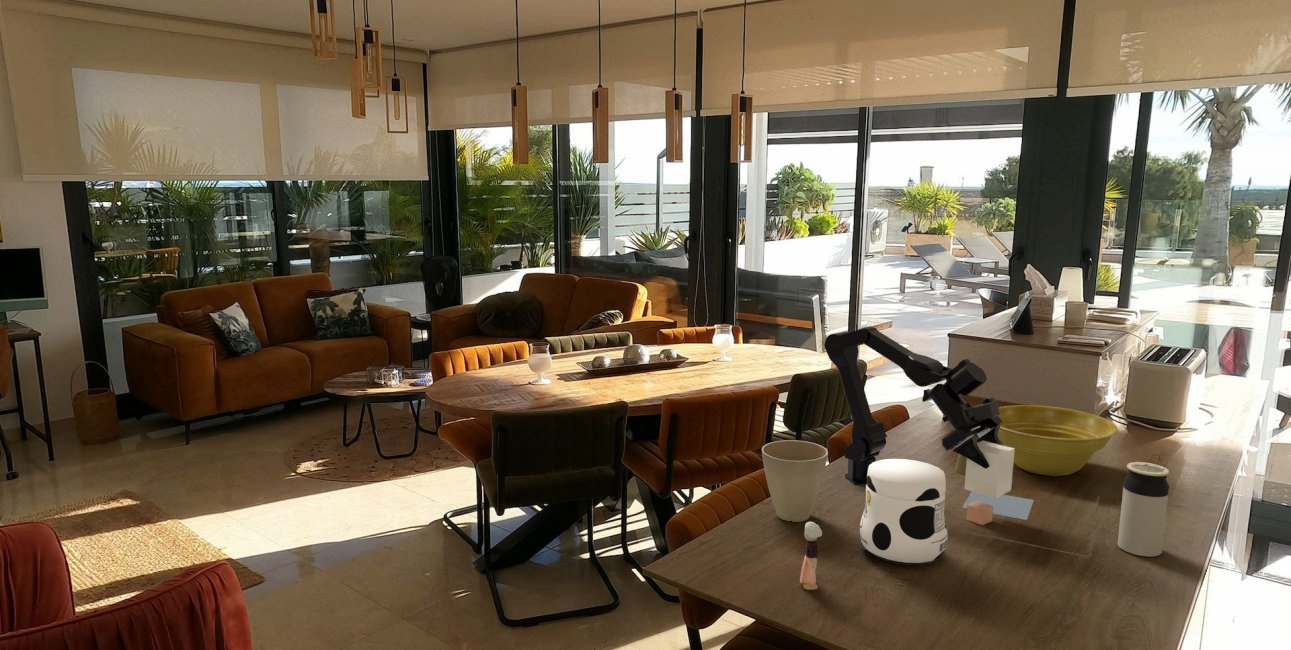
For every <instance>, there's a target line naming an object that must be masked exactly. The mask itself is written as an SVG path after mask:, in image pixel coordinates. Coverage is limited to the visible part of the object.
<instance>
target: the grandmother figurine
mask: <svg viewBox="0 0 1291 650" xmlns="http://www.w3.org/2000/svg"><path fill="white" fill-rule="evenodd" d="M803 535H804V538H805V539H806V540H805V544H804V546H805V555H804V559H803V562H802V566H801V570H800V578H799V582H800V584H803V585H802V587H803V589H805V590H809V591H810V590H811V591H812V590H813V591H814V590H818V588H819V586H818V584H817V576H816V569H817V566H818V565H817V564H818V556H819V548H818V544H817V543H818V542H817V539H818V537H819V538H820V537H821V536H822V535H823V531H822V529H821V528H820V526H819V525H818V524H816V523H815V522H814V521H808V522H806V523H805V525H804V533H803Z"/></svg>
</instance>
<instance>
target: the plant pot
mask: <svg viewBox="0 0 1291 650" xmlns="http://www.w3.org/2000/svg"><path fill="white" fill-rule="evenodd" d="M761 454H762V455H761V456H762V461H763V463H762V464H763V468H764V474H765V478H766V482H767V487H768V491H769V494H770V497H771V500H772V504H773V507H774V509H775V513H776V515H777V517H778V518H779V519H781V520H783V521H785V520H786V522H790V521H792V522H794V523H801V522H805V521H807V520H808V519H809V518H810V517H811V515H812V512H813V509H814V508H815V505H816V502H817V500H818V496H819V493H820V490H821V487H822V483H823V480H824V476H825V475H824V474H825V471H826V465H827V461H828V454H829V452H828V449H827V448H826V447H825V446H823V445H820V444H817V443H815V442H810V441H805V440H796V439H795V440H792V439H791V440H789V439H788V440H786V439H785V440H776V441H773V442H769V443H766V444H765V445H763V446H762V448H761Z"/></svg>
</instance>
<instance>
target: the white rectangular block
mask: <svg viewBox="0 0 1291 650" xmlns="http://www.w3.org/2000/svg"><path fill="white" fill-rule="evenodd" d="M977 445H978V447H979V449H980V450H981V452H982V453H983V455H984V457H985V458H986V460H987V462H988V464H989V467H988V468H986V469H985V468H983V467H982V466H980V465H978V464H977V463H975V462H973V461H971V460H970V459H968V458H967V462H966V475H964V476H965V477H964V491H965V490H966V491H970V492H971V491H972V492H976V493H979V494H983V495H986V496H989V497H993V498H998V497H1000V496H1002V495H1006V494H1007V493H1009V492H1011V491H1012V485H1013V484H1012V483H1013V474H1014V473H1013V471H1014V450H1015V448H1011V447H1007V446H1003V444H1000V445H999V444H995V443H991V442H986V441H981V442H979V443H977Z"/></svg>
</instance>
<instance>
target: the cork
mask: <svg viewBox="0 0 1291 650" xmlns="http://www.w3.org/2000/svg"><path fill="white" fill-rule="evenodd" d="M973 436H974V435H973ZM973 436H972V437H973ZM977 439H979V438H978V437H977ZM977 443H978V442H977ZM966 462H967V458H966V457H964V456H962V455H960V454H958V453H957V459H956V463H955V468H954V471H955V472H956V473H957V474H960V475H963V476H965V475H966Z"/></svg>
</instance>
